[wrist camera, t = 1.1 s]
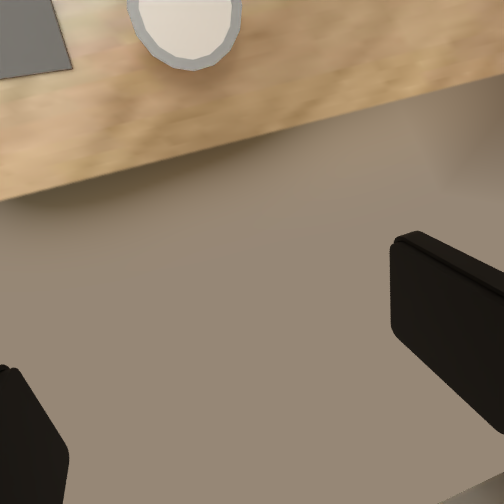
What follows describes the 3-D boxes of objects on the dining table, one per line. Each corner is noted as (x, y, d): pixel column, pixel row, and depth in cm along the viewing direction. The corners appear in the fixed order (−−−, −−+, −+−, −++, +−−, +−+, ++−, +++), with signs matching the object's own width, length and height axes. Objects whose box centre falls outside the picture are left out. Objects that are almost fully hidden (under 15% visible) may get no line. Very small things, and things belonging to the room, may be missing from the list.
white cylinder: (136, 77, 29) (139, 75, 23) (116, -32, 26) (112, -68, 20) (223, 70, 30) (247, 67, 24) (213, -33, 27) (237, -67, 21)
